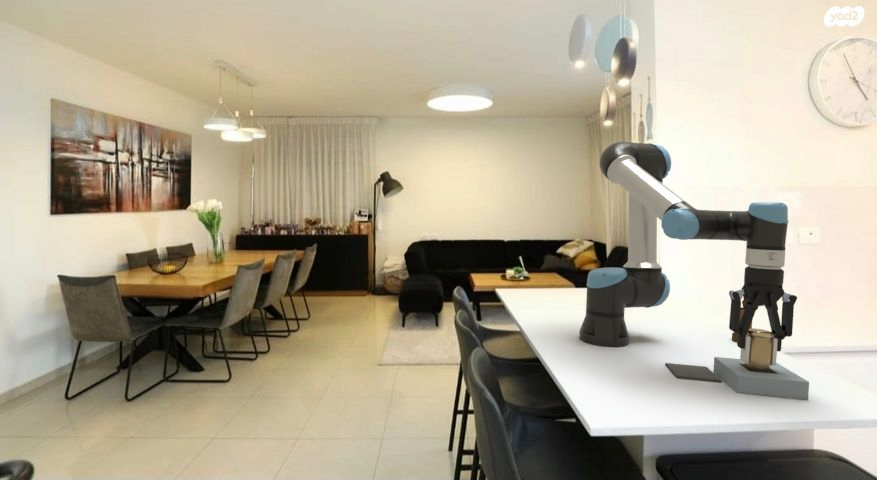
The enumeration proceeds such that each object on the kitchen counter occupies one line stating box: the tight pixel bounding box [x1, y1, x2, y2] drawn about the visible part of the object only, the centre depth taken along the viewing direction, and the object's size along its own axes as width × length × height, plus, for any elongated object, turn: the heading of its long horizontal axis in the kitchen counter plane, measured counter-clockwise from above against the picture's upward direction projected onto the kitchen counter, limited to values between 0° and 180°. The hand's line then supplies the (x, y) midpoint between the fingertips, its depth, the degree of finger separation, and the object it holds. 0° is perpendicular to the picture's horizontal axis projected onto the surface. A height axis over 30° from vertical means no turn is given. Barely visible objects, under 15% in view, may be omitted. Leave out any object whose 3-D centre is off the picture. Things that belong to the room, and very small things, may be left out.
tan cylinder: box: [745, 328, 773, 373], centre depth 105 cm, size 5×5×13 cm
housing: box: [712, 356, 810, 400], centre depth 105 cm, size 14×14×4 cm
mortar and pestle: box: [731, 294, 753, 343], centre depth 144 cm, size 7×6×18 cm
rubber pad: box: [664, 362, 723, 383], centre depth 112 cm, size 10×10×1 cm
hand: (757, 362), depth 105 cm, fingers closed on tan cylinder, 5 cm apart
